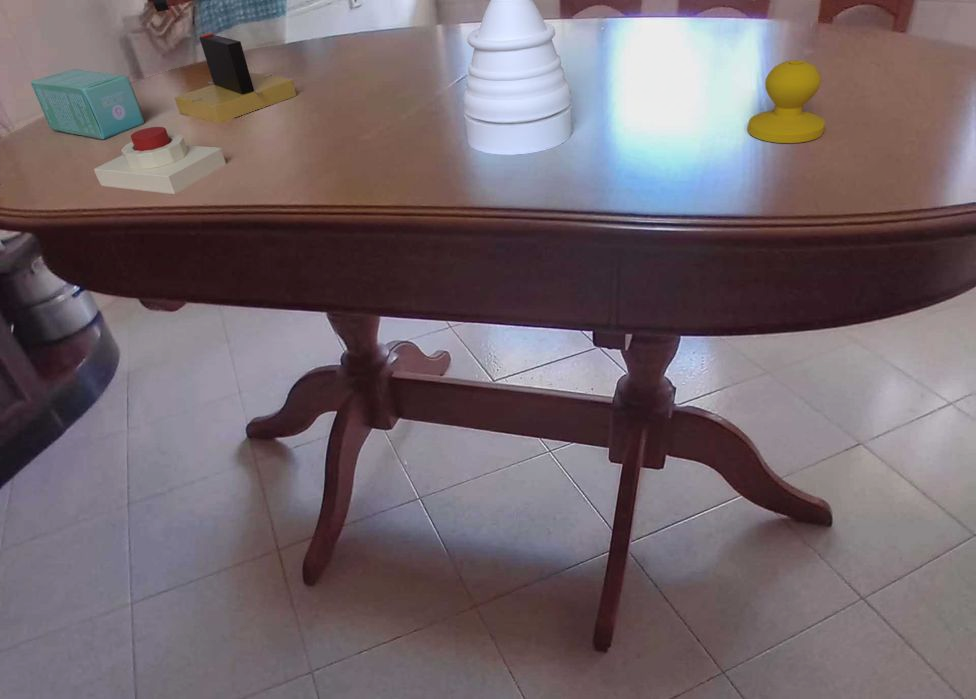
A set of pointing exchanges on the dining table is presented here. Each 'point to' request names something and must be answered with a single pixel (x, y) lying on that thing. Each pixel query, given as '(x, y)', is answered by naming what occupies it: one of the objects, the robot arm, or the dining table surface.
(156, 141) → the bell button
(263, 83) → the lock plate
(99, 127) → the box
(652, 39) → the dining table surface
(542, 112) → the honey pot
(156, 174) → the bell block
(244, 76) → the lock knob
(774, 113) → the doorknob
